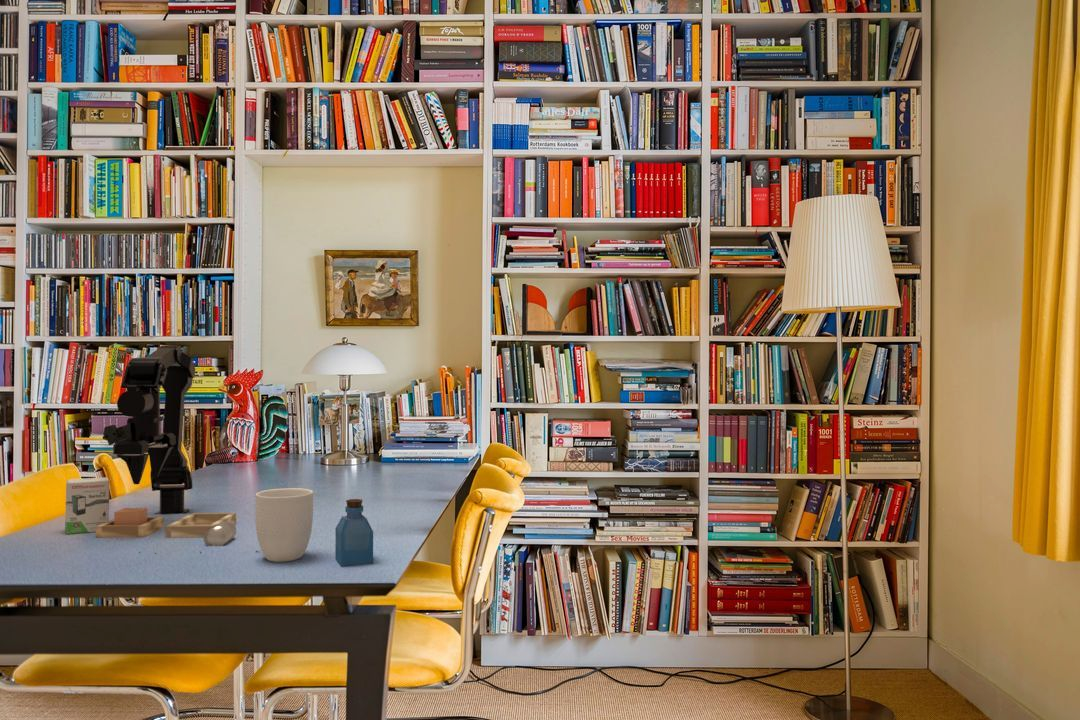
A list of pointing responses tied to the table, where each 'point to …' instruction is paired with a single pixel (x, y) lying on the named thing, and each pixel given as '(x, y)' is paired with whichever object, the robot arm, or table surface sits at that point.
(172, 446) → the robot arm
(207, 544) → the grey rounded piece
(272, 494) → the mug
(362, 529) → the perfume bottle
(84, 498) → the ink box
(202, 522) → the birch box
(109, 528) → the oak box
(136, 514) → the cube
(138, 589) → the table surface
